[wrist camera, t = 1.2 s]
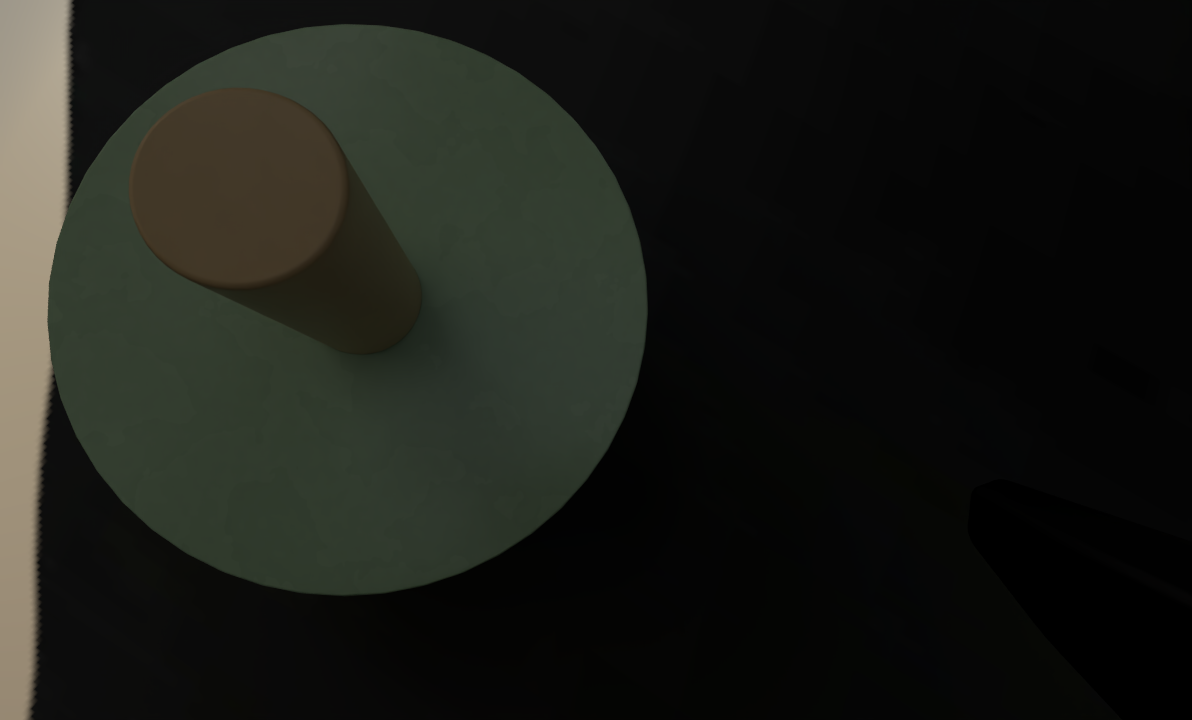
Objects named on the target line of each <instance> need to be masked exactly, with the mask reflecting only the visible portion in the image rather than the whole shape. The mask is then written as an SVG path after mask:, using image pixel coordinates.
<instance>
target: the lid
mask: <svg viewBox="0 0 1192 720" xmlns="http://www.w3.org/2000/svg"><path fill="white" fill-rule="evenodd" d="M647 317H648V302H647V280H646V272H645V266H644V260H643V255H642V249H641V244H640V240H639V236H638V233H637V230H636V227H635V224H634V221H633V217H632V214H631V211H630V208H629V206H628V204H627V201H626V199H625V197H624V195H623V193H622V191H621V189H620V186H619V184H618V182H617V180H616V178H615V176H614V174H613V173H612V171H611V169H610V168H609V166H608V165H607V163H606V161H605V160H604V158H603V157H602V155H601V154H600V152H599V150H598V149H597V147H596V146H595V145H594V143H593V142H592V141H591V140H590V138H589V137H588V136H587V135H586V134H585V132H584V131H583V130H582V129H581V127H580V126H579V125H578V124H577V123H576V121H575V120H574V119H573V118H572V117H571V116H570V115H569V114H568V113H567V112H566V111H565V110H564V109H562V108H561V107H560V106H559V105H558V104H557V103H556V102H555V101H554V100H553V99H552V98H551V97H550V96H549V95H548V94H546V93H545V92H544V91H542V90H541V89H540V88H538V87H537V86H536V85H534V84H533V83H531V82H530V81H529V80H527V79H526V78H525V77H523V76H522V75H521V74H519V73H518V72H516V71H514V70H512V69H511V68H509V67H507V66H505V65H504V64H502V63H500V62H498V61H496V60H495V59H493V58H491V57H489V56H488V55H485V54H483V53H481V52H478V51H476V50H473V49H471V48H468V47H466V46H464V45H461V44H459V43H456V42H454V41H451V40H447V39H444V38H440V37H436V36H433V35H429V34H426V33H422V32H419V31H413V30H406V29H400V28H393V27H387V26H378V25H349V24H341V25H330V26H318V27H306V28H301V29H296V30H292V31H287V32H282V33H277V34H273V35H268V36H265V37H262V38H259V39H256V40H253V41H250V42H247V43H244V44H242V45H239V46H236V47H233V48H230V49H228V50H226V51H224V52H222V53H220V54H218V55H216V56H214V57H212V58H210V59H208V60H206V61H204V62H202V63H199V64H197V65H196V66H194V67H193V68H191V69H190V70H188V71H187V72H185V73H184V74H182V75H180V76H179V77H177V78H176V79H174V80H173V81H171V82H170V83H168V84H167V85H165V86H164V87H163V88H161V89H160V90H159V91H158V92H157V93H156V94H154V95H153V96H152V97H151V98H150V99H148V100H147V101H146V102H145V103H144V104H143V105H141V106H140V107H139V108H138V109H137V110H135V112H134V113H133V114H132V115H131V116H130V117H129V118H128V119H127V120H126V121H125V123H124V124H123V125H122V126H121V127H120V128H119V129H118V130H117V131H116V132H115V134H114V135H113V136H112V137H111V138H110V139H109V140H108V142H107V143H106V145H105V146H104V148H103V149H102V150H101V152H100V153H99V155H98V156H97V158H96V159H95V161H94V162H93V164H92V165H91V166H90V168H89V169H88V171H87V172H86V174H85V176H84V178H83V180H82V182H81V184H80V186H79V188H78V190H77V192H76V194H75V196H74V198H73V200H72V202H71V204H70V206H69V209H68V212H67V215H66V217H65V220H64V223H63V226H62V229H61V232H60V235H59V238H58V241H57V244H56V249H55V255H54V260H53V265H52V271H51V275H50V281H49V300H48V331H49V341H50V351H51V361H52V365H53V369H54V373H55V377H56V381H57V385H58V389H59V393H60V397H61V400H62V402H63V405H64V407H65V410H66V412H67V415H68V417H69V419H70V422H71V424H72V427H73V429H74V431H75V434H76V436H77V438H78V440H79V441H80V443H81V445H82V446H83V448H84V450H85V451H86V453H87V455H88V456H89V458H90V460H91V461H92V463H93V465H94V466H95V468H96V470H97V471H98V472H99V474H100V475H101V476H102V477H103V479H104V480H105V481H106V482H107V484H108V485H109V486H110V487H111V488H112V490H113V491H114V492H115V493H116V495H117V496H118V497H119V498H120V500H121V501H122V502H123V503H124V504H125V505H126V506H127V507H128V508H130V509H131V510H132V511H133V512H134V513H135V514H136V515H137V516H138V517H139V518H140V519H141V520H143V521H144V522H145V523H146V524H147V525H148V526H149V527H150V528H151V529H152V530H154V531H155V532H156V533H158V534H159V535H161V536H162V537H164V538H165V539H167V540H168V541H169V542H171V543H172V544H174V545H175V546H177V547H178V548H180V549H181V550H182V551H184V552H185V553H187V554H189V555H191V556H193V557H195V558H197V559H199V560H201V561H203V562H205V563H207V564H209V565H211V566H213V567H215V568H217V569H219V570H221V571H223V572H225V573H228V574H231V575H234V576H237V577H240V578H242V579H245V580H248V581H251V582H254V583H257V584H260V585H263V586H268V587H273V588H278V589H283V590H288V591H293V592H298V593H304V594H319V595H335V596H353V595H369V594H384V593H390V592H395V591H400V590H405V589H410V588H415V587H420V586H425V585H428V584H431V583H434V582H437V581H440V580H443V579H446V578H449V577H452V576H455V575H458V574H461V573H463V572H466V571H468V570H470V569H472V568H474V567H476V566H478V565H480V564H482V563H484V562H486V561H488V560H490V559H492V558H494V557H497V556H499V555H500V554H502V553H503V552H505V551H506V550H508V549H509V548H511V547H512V546H514V545H515V544H517V543H518V542H520V541H522V540H523V539H525V538H526V537H528V536H529V535H531V534H532V533H533V532H534V531H536V530H537V529H538V528H539V527H540V526H541V525H543V524H544V523H545V522H546V521H547V520H548V519H550V518H551V517H552V516H553V515H554V514H555V513H557V512H558V511H559V510H560V509H561V508H562V507H563V506H564V505H565V504H566V503H567V502H568V500H569V499H570V498H571V497H572V496H573V495H574V494H575V493H576V492H577V491H578V489H579V488H580V487H581V486H582V485H583V484H584V483H585V482H586V481H587V479H588V478H589V476H590V475H591V473H592V472H593V470H594V469H595V468H596V466H597V465H598V463H599V462H600V460H601V459H602V457H603V456H604V455H605V453H606V452H607V450H608V449H609V447H610V445H611V443H612V441H613V439H614V437H615V435H616V433H617V431H618V429H619V427H620V425H621V423H622V421H623V419H624V418H625V415H626V412H627V409H628V407H629V404H630V401H631V398H632V396H633V393H634V390H635V387H636V385H637V381H638V377H639V372H640V368H641V363H642V358H643V354H644V349H645V341H646V329H647Z"/></svg>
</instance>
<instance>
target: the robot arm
mask: <svg viewBox="0 0 1192 720" xmlns="http://www.w3.org/2000/svg"><path fill="white" fill-rule="evenodd" d="M968 533H969V536H970V539H971V541H972V543H973V544H974V546H975V547H976V549H977V550H978V551H979V553H980V554H981V555H982V556H983V558H984V559H985V560H986V562H987V563H988V564H989V565H990V567H991V568H992V569H993V571H994V572H995V573H996V574H997V576H998V577H999V578H1000V580H1001V581H1002V582H1003V583H1004V585H1005V586H1006V587H1007V589H1008V590H1009V591H1010V593H1011V594H1012V595H1013V596H1014V598H1015V599H1016V600H1017V602H1018V603H1019V604H1020V605H1021V607H1022V608H1023V609H1024V611H1025V612H1026V613H1027V614H1028V616H1029V617H1030V618H1031V620H1032V621H1033V622H1034V623H1035V625H1036V626H1037V627H1038V628H1039V629H1040V631H1041V632H1042V633H1043V634H1044V636H1045V637H1046V638H1047V639H1048V640H1049V641H1050V642H1051V644H1052V645H1053V646H1054V647H1055V648H1056V649H1057V650H1058V651H1059V652H1060V654H1061V655H1062V656H1063V657H1064V658H1065V659H1066V660H1067V661H1068V662H1069V663H1070V664H1071V665H1072V666H1073V667H1074V669H1075V670H1076V671H1077V672H1078V673H1079V674H1080V675H1081V676H1082V677H1083V678H1084V679H1085V680H1086V681H1087V682H1088V683H1089V685H1090V686H1091V687H1092V688H1093V689H1094V690H1095V691H1096V692H1097V693H1098V694H1099V695H1100V696H1101V697H1102V698H1103V700H1104V701H1105V702H1106V703H1107V704H1108V705H1109V706H1110V707H1111V708H1112V709H1113V710H1114V711H1115V712H1116V713H1117V715H1118V716H1119V717H1120V718H1121V719H1122V720H1192V542H1191V541H1188V540H1185V539H1182V538H1179V537H1176V536H1173V535H1170V534H1167V533H1164V532H1161V531H1158V530H1155V529H1152V528H1149V527H1146V526H1143V525H1140V524H1137V523H1134V522H1131V521H1128V520H1125V519H1122V518H1119V517H1116V516H1113V515H1110V514H1107V513H1104V512H1101V511H1098V510H1095V509H1092V508H1089V507H1086V506H1083V505H1080V504H1077V503H1074V502H1071V501H1068V500H1065V499H1062V498H1059V497H1056V496H1053V495H1050V494H1047V493H1044V492H1041V491H1038V490H1035V489H1032V488H1029V487H1026V486H1023V485H1020V484H1017V483H1014V482H1011V481H1008V480H1003V479H998V480H994V481H991V482H988V483H986V484H983V485H981V486H978V487H976V488H975V489H974V490H973V492H972V494H971V501H970V510H969V520H968Z"/></svg>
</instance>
